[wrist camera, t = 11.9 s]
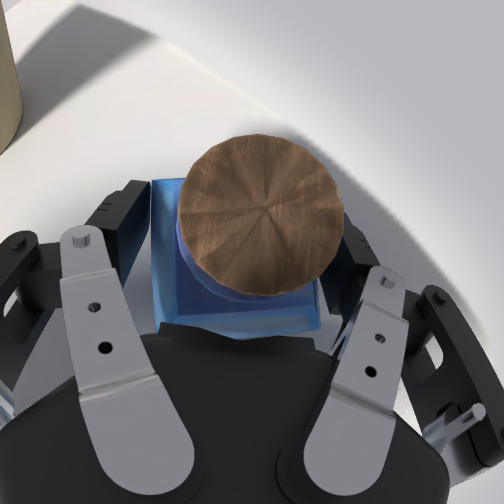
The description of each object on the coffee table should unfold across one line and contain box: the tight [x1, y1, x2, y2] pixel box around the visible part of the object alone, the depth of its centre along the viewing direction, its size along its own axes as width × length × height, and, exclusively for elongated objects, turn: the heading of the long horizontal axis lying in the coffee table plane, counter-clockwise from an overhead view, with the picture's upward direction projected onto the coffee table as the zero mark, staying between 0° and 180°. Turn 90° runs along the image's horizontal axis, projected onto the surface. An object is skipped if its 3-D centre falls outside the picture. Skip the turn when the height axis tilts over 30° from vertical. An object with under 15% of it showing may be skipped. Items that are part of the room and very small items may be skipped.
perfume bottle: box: [151, 134, 344, 339], centre depth 11 cm, size 6×6×12 cm
